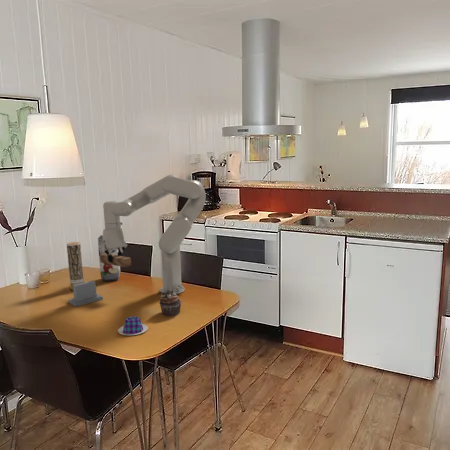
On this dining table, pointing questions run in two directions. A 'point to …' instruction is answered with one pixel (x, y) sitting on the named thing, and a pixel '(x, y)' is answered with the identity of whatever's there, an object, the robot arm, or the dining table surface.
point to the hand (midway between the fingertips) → (115, 260)
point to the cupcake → (170, 303)
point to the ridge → (84, 293)
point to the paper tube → (75, 263)
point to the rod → (116, 260)
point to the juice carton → (108, 270)
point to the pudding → (132, 326)
